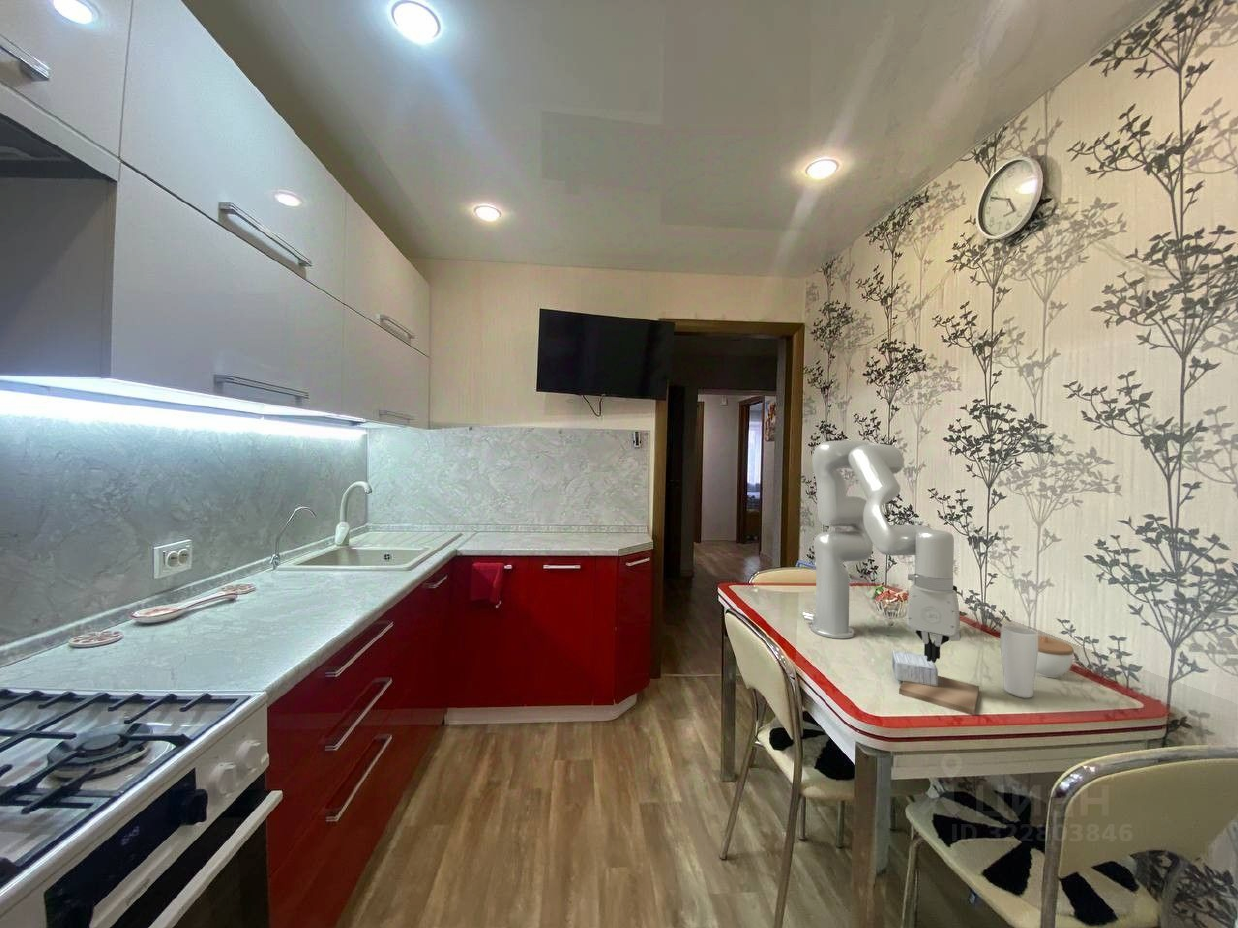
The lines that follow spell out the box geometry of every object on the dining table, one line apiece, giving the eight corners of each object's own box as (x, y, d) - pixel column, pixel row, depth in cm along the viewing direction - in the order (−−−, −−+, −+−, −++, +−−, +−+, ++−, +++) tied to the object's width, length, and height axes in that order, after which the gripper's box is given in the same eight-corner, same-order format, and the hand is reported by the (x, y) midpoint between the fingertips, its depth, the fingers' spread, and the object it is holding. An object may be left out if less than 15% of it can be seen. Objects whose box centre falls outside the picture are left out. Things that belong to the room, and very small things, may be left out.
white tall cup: (1028, 688, 113) (1030, 626, 113) (1043, 702, 107) (1044, 636, 107) (994, 684, 116) (995, 622, 115) (1006, 697, 109) (1008, 632, 109)
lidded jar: (1082, 685, 116) (1083, 646, 116) (1029, 678, 119) (1030, 641, 119) (1058, 666, 126) (1059, 631, 126) (1009, 660, 129) (1010, 626, 129)
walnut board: (899, 693, 111) (899, 688, 111) (910, 673, 121) (910, 668, 121) (974, 715, 101) (974, 709, 101) (978, 691, 112) (979, 686, 112)
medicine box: (895, 679, 115) (938, 687, 111) (895, 661, 115) (938, 668, 111) (891, 666, 122) (931, 673, 118) (892, 649, 122) (932, 655, 118)
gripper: (894, 580, 114) (892, 656, 114) (971, 592, 104) (969, 675, 105) (900, 574, 120) (899, 647, 120) (974, 585, 110) (972, 664, 110)
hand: (932, 660), depth 112 cm, fingers closed
